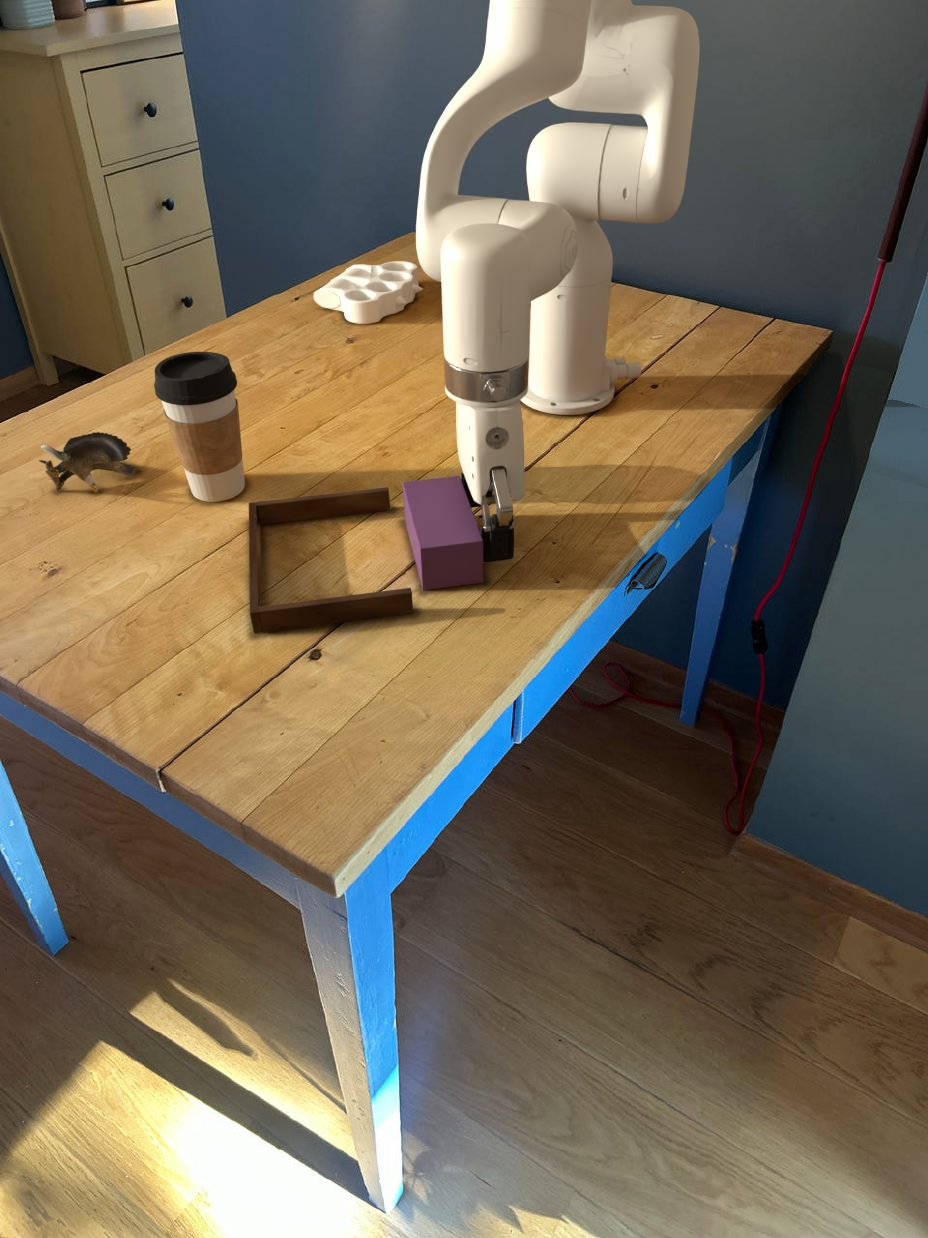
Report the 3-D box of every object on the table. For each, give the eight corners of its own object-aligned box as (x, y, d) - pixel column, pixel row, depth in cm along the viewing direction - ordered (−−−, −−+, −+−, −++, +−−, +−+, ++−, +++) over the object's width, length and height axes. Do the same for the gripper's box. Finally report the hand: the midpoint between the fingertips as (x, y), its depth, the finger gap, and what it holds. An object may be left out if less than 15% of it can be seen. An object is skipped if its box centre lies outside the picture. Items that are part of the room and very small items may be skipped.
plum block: (460, 515, 100) (459, 475, 97) (483, 582, 91) (483, 540, 88) (405, 522, 99) (402, 481, 96) (422, 590, 90) (420, 548, 87)
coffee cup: (220, 516, 101) (191, 388, 91) (164, 494, 104) (131, 369, 95) (271, 480, 106) (250, 356, 97) (216, 461, 110) (190, 339, 100)
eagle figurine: (66, 506, 101) (142, 467, 104) (29, 446, 99) (107, 408, 102) (67, 508, 108) (138, 472, 111) (32, 453, 106) (105, 417, 109)
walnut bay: (389, 506, 102) (388, 486, 100) (413, 613, 88) (411, 592, 86) (252, 522, 100) (248, 502, 98) (253, 634, 86) (249, 613, 84)
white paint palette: (358, 275, 155) (439, 286, 151) (304, 315, 143) (390, 329, 138) (357, 254, 153) (438, 265, 149) (301, 293, 140) (389, 306, 136)
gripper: (552, 414, 78) (544, 577, 89) (505, 331, 91) (504, 482, 102) (463, 423, 77) (466, 588, 88) (429, 338, 90) (436, 490, 101)
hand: (486, 531), depth 95 cm, fingers open, 9 cm apart
